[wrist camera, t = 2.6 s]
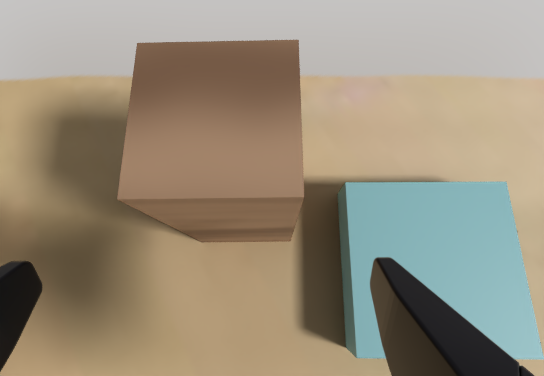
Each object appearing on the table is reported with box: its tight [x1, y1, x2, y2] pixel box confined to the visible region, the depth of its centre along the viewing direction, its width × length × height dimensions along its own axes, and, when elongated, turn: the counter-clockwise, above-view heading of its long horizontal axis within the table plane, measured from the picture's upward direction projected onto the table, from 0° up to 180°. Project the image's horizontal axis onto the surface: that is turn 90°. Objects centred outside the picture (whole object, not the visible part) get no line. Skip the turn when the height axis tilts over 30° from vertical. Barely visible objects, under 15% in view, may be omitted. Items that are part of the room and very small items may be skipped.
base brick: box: [338, 182, 544, 359], centre depth 18 cm, size 9×9×3 cm
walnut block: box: [117, 40, 304, 242], centre depth 15 cm, size 6×6×11 cm
